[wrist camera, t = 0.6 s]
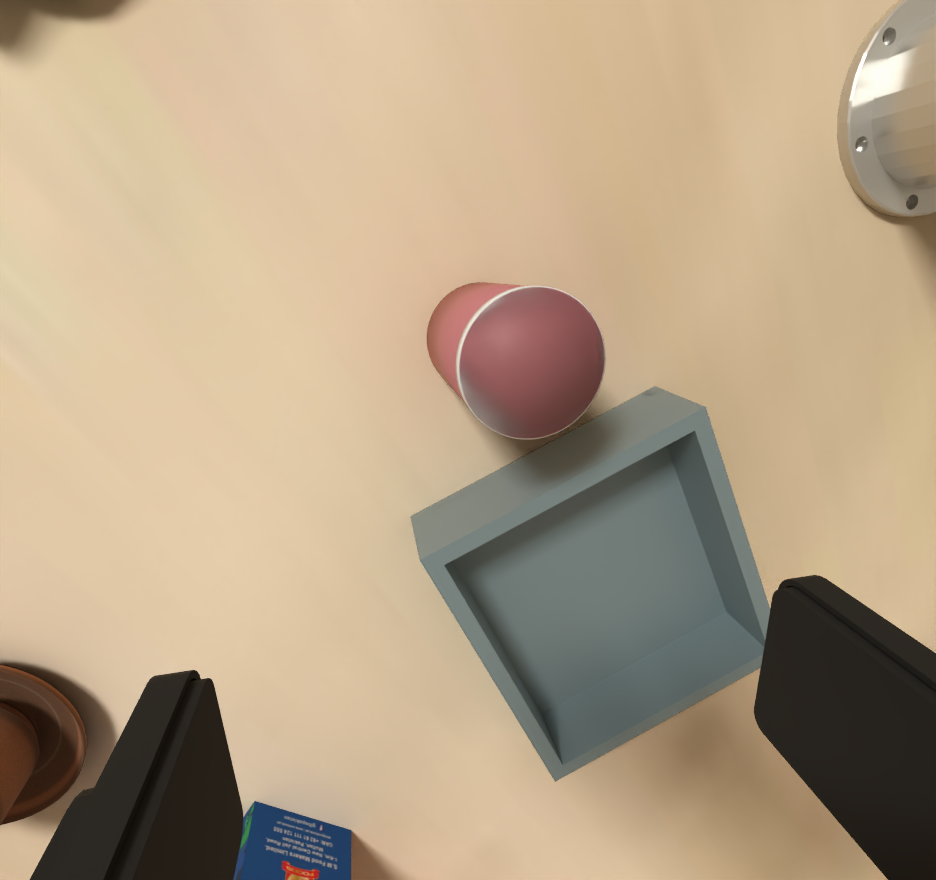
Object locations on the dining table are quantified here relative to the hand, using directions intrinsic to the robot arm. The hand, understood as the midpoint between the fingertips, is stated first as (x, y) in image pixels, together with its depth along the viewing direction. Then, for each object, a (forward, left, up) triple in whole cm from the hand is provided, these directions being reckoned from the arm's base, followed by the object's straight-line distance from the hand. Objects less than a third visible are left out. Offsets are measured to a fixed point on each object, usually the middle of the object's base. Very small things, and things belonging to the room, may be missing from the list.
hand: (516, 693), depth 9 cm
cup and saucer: (+33, +7, -25) cm, 42 cm away
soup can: (-5, 0, -25) cm, 25 cm away
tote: (-5, +18, -25) cm, 31 cm away
